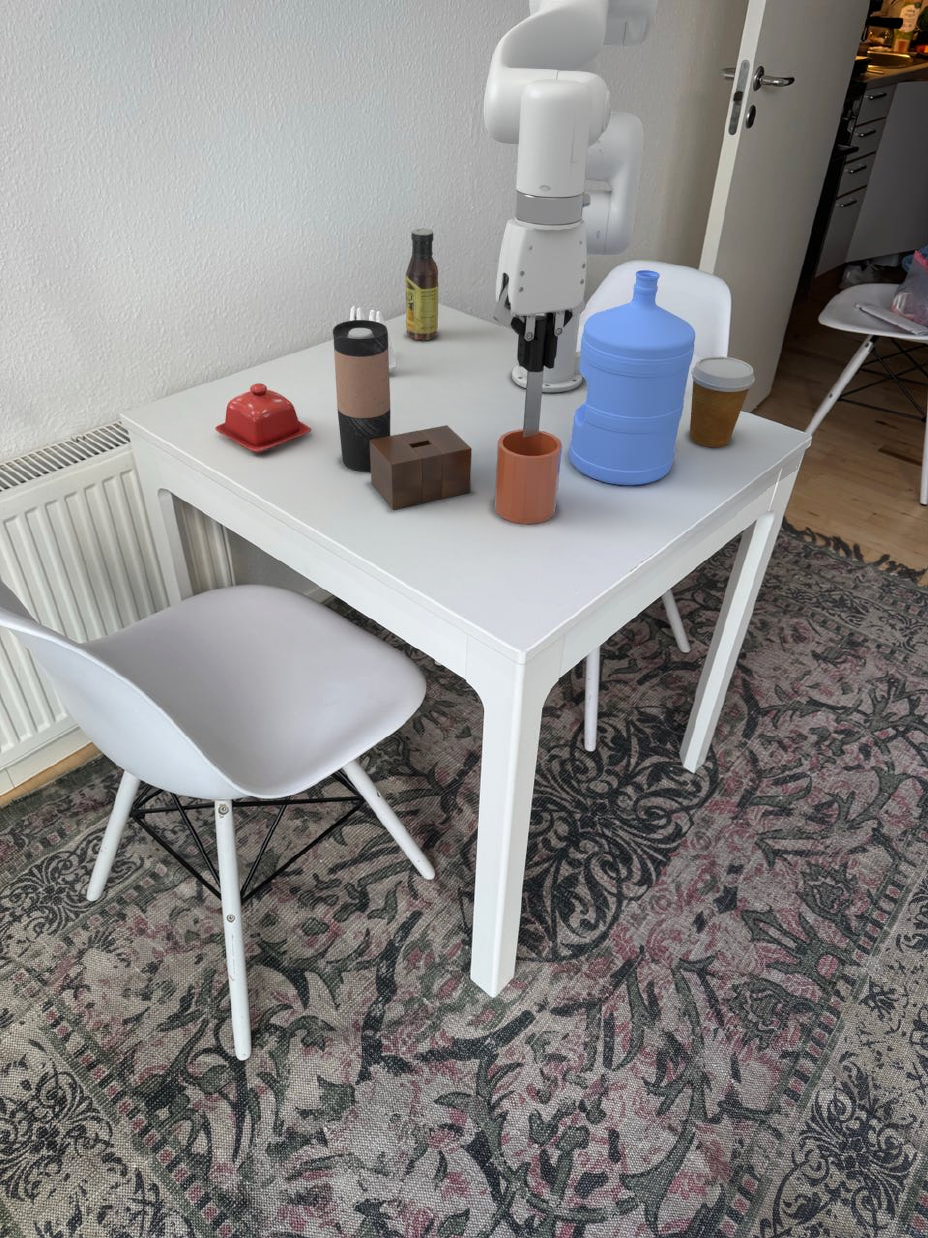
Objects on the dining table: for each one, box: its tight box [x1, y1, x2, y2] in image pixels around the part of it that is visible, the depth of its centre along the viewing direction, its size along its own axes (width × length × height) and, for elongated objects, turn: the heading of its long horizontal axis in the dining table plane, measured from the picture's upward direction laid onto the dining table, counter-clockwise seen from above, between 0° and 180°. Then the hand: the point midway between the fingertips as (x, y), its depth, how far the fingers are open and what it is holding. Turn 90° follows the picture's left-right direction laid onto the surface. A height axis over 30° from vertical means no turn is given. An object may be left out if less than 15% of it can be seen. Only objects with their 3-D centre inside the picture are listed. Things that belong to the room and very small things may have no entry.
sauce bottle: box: [405, 228, 439, 341], centre depth 169 cm, size 7×6×20 cm
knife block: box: [370, 424, 472, 511], centre depth 125 cm, size 12×8×7 cm, turn 116°
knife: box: [522, 315, 548, 437], centre depth 112 cm, size 2×2×16 cm
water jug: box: [568, 269, 696, 486], centre depth 127 cm, size 16×16×28 cm
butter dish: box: [214, 383, 312, 453], centre depth 137 cm, size 12×12×8 cm
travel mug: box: [332, 319, 391, 472], centre depth 128 cm, size 8×8×20 cm
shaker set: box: [349, 305, 399, 374], centre depth 159 cm, size 12×4×11 cm, turn 36°
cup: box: [494, 428, 563, 525], centre depth 121 cm, size 8×8×10 cm
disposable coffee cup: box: [689, 355, 756, 448], centre depth 139 cm, size 10×10×12 cm
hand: (535, 365), depth 111 cm, fingers closed on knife, 2 cm apart
